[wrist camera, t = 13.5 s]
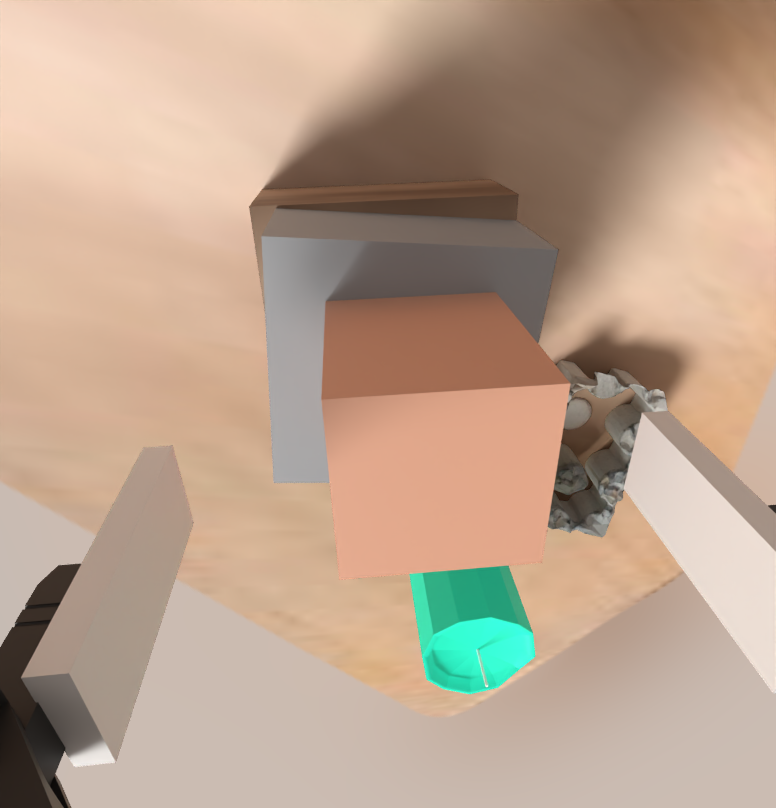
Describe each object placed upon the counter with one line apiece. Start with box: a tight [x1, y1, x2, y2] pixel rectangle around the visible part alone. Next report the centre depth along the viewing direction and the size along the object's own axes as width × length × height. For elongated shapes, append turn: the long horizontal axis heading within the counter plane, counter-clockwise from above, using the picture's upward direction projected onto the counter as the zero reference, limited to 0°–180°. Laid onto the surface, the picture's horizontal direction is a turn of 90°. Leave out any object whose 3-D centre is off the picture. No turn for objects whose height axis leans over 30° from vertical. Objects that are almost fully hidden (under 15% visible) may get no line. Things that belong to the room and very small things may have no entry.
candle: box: [410, 566, 535, 694], centre depth 32 cm, size 6×6×12 cm
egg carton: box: [548, 360, 668, 537], centre depth 33 cm, size 11×8×4 cm
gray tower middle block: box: [261, 208, 558, 483], centre depth 23 cm, size 10×10×5 cm
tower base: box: [249, 180, 518, 309], centre depth 27 cm, size 11×11×5 cm
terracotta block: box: [321, 292, 571, 580], centre depth 17 cm, size 6×6×7 cm
